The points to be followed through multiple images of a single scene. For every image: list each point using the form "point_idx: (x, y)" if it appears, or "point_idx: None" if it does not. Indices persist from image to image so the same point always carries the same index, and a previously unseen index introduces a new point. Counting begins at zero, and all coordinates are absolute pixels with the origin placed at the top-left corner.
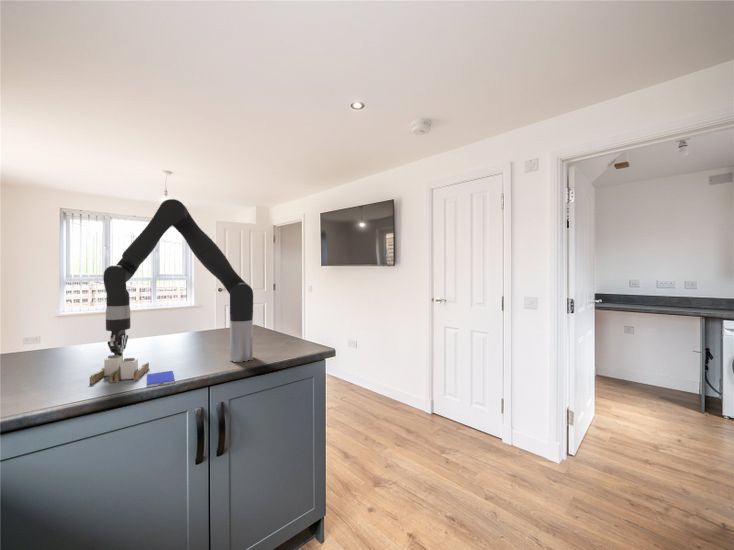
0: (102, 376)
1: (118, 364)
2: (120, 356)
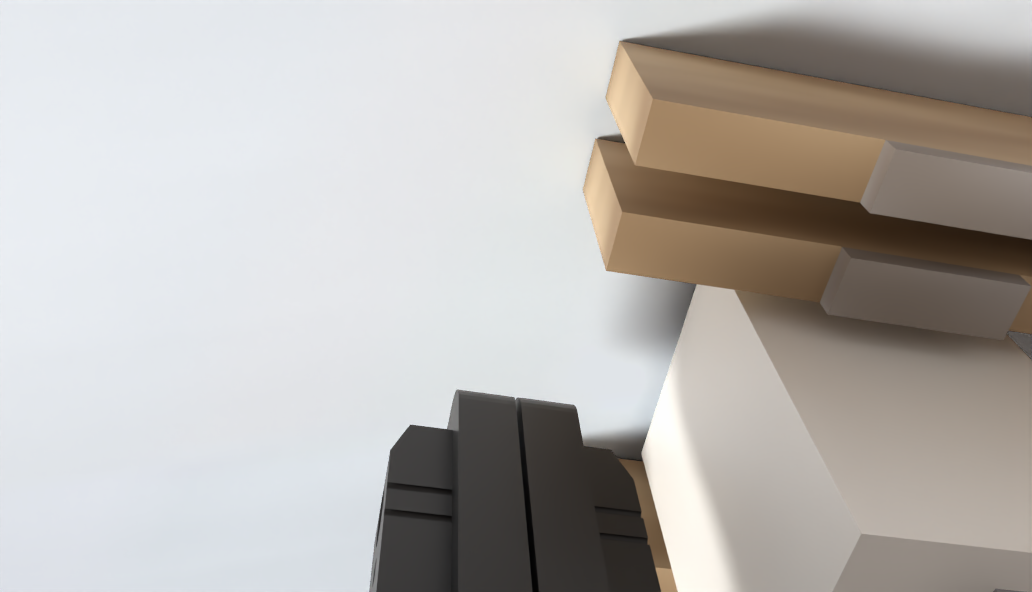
0: None
1: (1027, 417)
2: (962, 551)
